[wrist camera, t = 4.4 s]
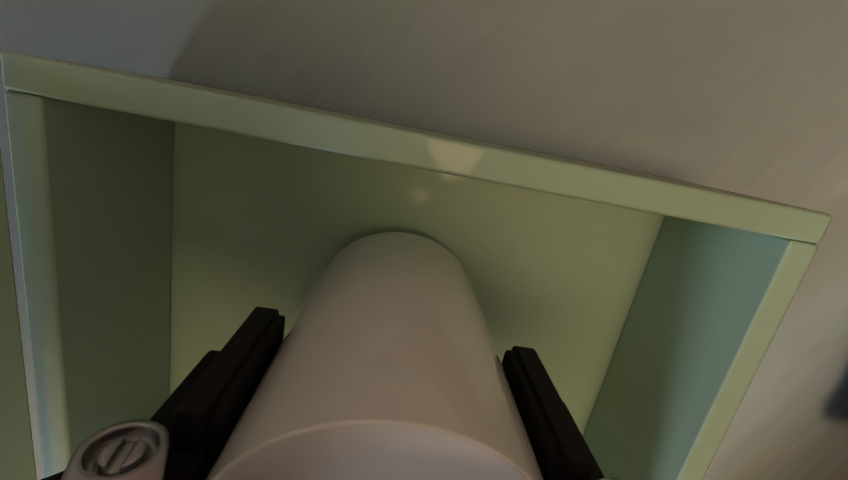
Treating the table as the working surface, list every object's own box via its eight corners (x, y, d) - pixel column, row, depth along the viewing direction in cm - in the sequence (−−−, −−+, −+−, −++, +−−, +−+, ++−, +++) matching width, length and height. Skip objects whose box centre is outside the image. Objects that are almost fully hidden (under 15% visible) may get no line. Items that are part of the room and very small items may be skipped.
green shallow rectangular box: (683, 181, 15) (835, 215, 10) (579, 456, 19) (646, 593, 14) (163, 77, 14) (-3, 49, 8) (162, 399, 18) (47, 526, 12)
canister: (305, 365, 15) (173, 683, 7) (323, 217, 14) (175, 393, 5) (456, 387, 16) (511, 706, 7) (492, 247, 14) (618, 451, 6)
